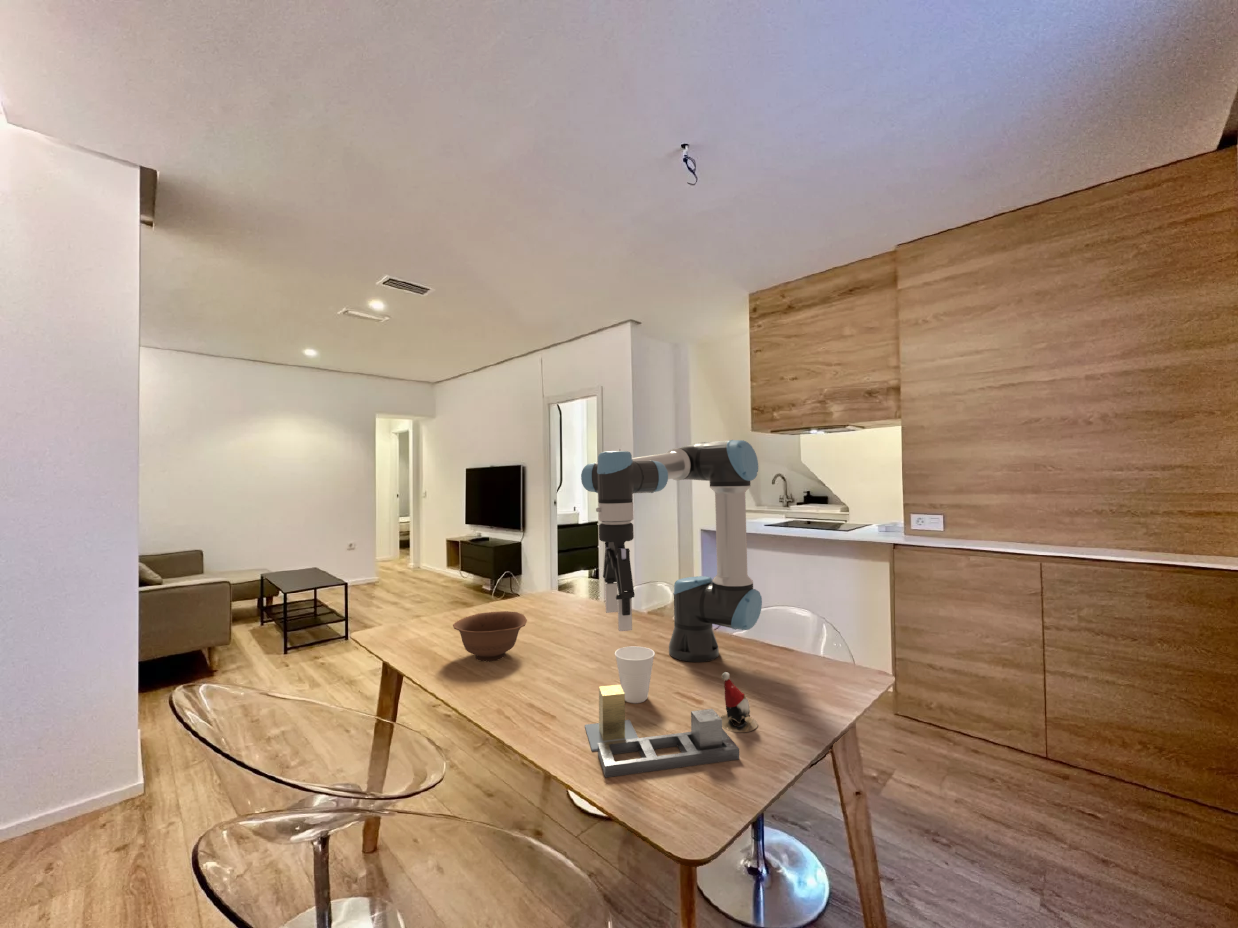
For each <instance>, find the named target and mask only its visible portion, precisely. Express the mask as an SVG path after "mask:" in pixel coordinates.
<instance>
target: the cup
mask: <svg viewBox="0 0 1238 928" xmlns="http://www.w3.org/2000/svg"><path fill="white" fill-rule="evenodd" d="M655 655H656V652H655V651H654V650H653V649H652V648H649V647H645V646H638V645H637V646H635V645H634V646H633V645H632V646H631V645H630V646H624V647H619V648H618V649H616V650H615V652H614V656H615V660H616V664H617V671H618V677H619V682H620V684H619V685H620V686H621V688H622V689H623V691H624V693H625V702H627V703H629V704H630V703H631V704H640V703H641V704H642V703H643V702H646V700H647V699H648V696H649V691H650V683H651V678H652V677H651V676H652V670H653V664H654V657H655Z"/></svg>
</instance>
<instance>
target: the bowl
mask: <svg viewBox="0 0 1238 928" xmlns="http://www.w3.org/2000/svg"><path fill="white" fill-rule="evenodd" d="M527 622H528V619H527V618H526V616H525V614H522V613H520V612H517V611H507V610H505V611H501V610H500V611H487V612H479V613H475V614H472V615H469V616H468V615H467V616H464V617H463V618H461V619H459V620H457V621H455V622H454V623H453V624H452V627H453V629H454V630H456V631H458V632H459V634H460V638H461V642H462V645H463V647H464V649H465V651H466V652H468V653H470V654H471V655H473V656H475V660H477V661H479V662H484V661H486V662H487V663H488V661H489V662H494V661H499V660H502V659H503V658H505V657H506V653H507V652H509V651H510V650H511V649H512V648H513V647H514V646H515V645H516V643H517V638H518V636H519V632H520V630H521V628H523V627H526V624H527Z"/></svg>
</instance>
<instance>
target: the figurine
mask: <svg viewBox="0 0 1238 928" xmlns="http://www.w3.org/2000/svg"><path fill="white" fill-rule="evenodd" d="M721 679H722V681H724V682H723V683H724V684H723V686H724V701H725V703H724V704H725V710H726V714H724V715H723V714H722V715H721V716H719V717H720V718H721V719H722V729H723V730H724V729H725V730H727V731H730V732H733V733H740V734H741V733H749V732H752V731H755V730H756V729H757V728H758V725H759V724H758V721H757V720H756V719H755V718H753V717H751V715H750V714H751V710H750V702H749V699H748V698H747V696H746V695H745V693H743V692H742V691H741V690H740V689H739V688H738V687H737V686H736V685H735V684H734V682H732V680H731V678H730V673H729V672H726V671H725V672H723V673H722V674H721ZM733 720H734V721H736V722H737V723H738V724H740V723H741V721H742V720H743V721H744V723H743V724H740V725H736V724H735V723H734V722H733Z"/></svg>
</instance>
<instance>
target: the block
mask: <svg viewBox="0 0 1238 928" xmlns="http://www.w3.org/2000/svg"><path fill="white" fill-rule="evenodd" d="M720 717H721V716H720V715H719V714H718V713H717V712H716V711H715V709H713V708H708V709H699V710H691V711H690V724H691V725H690V727H691V728H690V732H691V742H692V743H693V745H694V746H695V748H696V749H697V751H701V750H709V749H716V748H722V729H723V727H722V719H721V718H720Z"/></svg>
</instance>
